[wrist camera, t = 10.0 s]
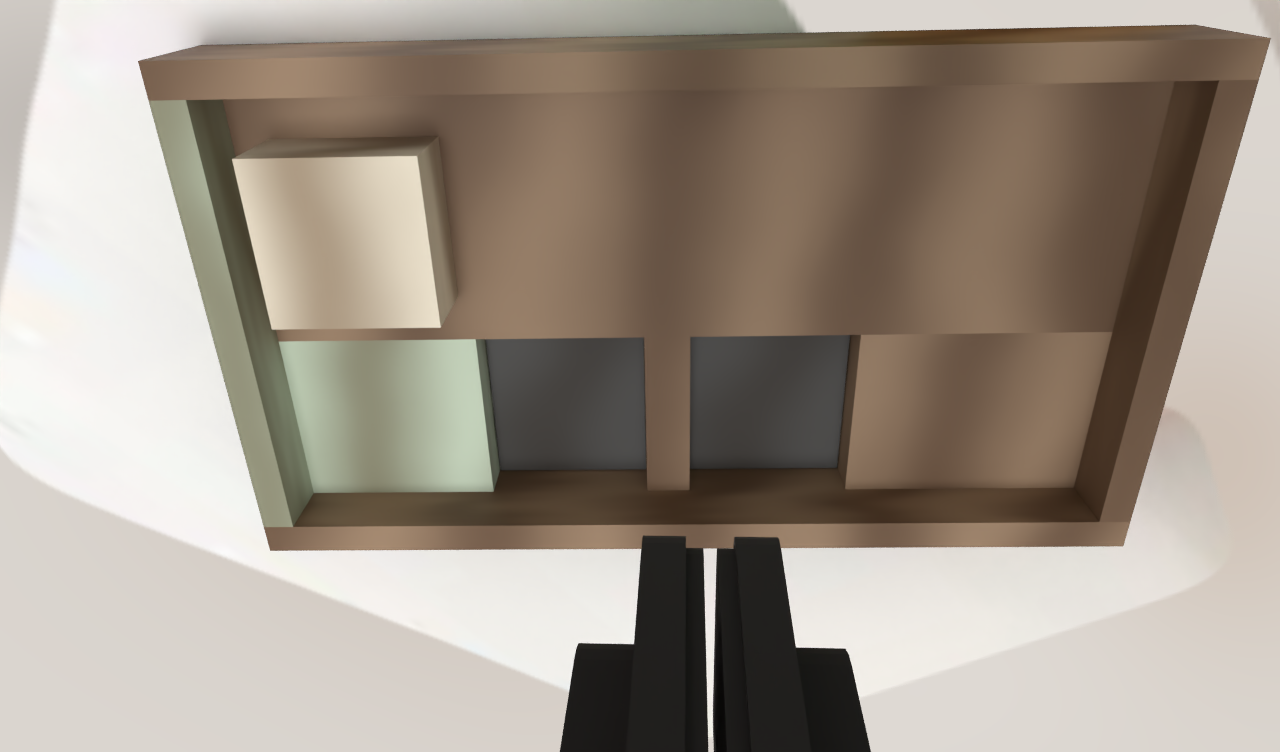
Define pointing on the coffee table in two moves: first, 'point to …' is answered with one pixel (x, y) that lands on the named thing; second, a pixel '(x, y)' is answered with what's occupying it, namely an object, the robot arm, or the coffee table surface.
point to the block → (349, 231)
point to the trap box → (731, 282)
